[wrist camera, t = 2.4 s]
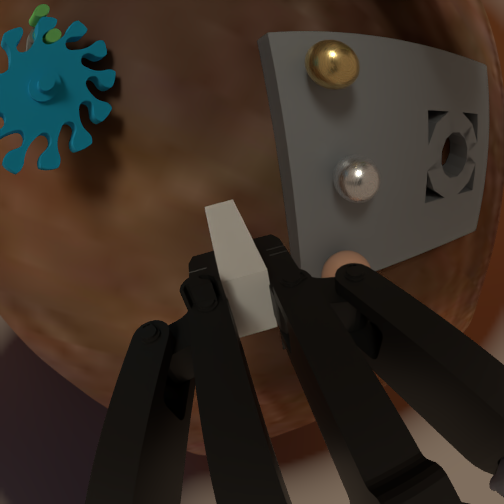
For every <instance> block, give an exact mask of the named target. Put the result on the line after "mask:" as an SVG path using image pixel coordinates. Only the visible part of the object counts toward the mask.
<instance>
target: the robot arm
mask: <svg viewBox="0 0 504 504" xmlns="http://www.w3.org/2000/svg"><path fill="white" fill-rule="evenodd" d="M205 211H206V216H207V221H208V225H209V230H210V235H211V240H212V244H213V249H214V251H211V252H208V253H204V254H201V255H197V256H193V257H192V259H191V261H190V263H189V278H188V279H186V280H185V281H184V282H183V284H182V285H181V287H180V293H181V296H182V298H183V300H184V303H185V305H186V307H187V309H188V312H187V313H186V314H185V315H184V316H183V317H182V318H181V319H179V320H178V321H176V322H174V323H172V324H170V325H167V324H166V323H165V322H163V321H159V320H154V321H149V322H147V323H145V324H143V325H141V326H140V327H139V328H138V329H137V330H136V332H135V333H134V335H133V337H132V340H131V343H130V345H129V348H128V351H127V354H126V356H125V359H124V362H123V365H122V368H121V371H120V374H119V377H118V380H117V383H116V386H115V389H114V392H113V395H112V398H111V401H110V404H109V408H108V411H107V415H106V418H105V421H104V425H103V428H102V432H101V436H100V439H99V443H98V447H97V451H96V455H95V459H94V463H93V468H92V472H91V476H90V481H89V486H88V491H87V496H86V501H85V504H180V501H181V491H182V483H183V474H184V465H185V457H186V449H187V441H188V433H189V426H190V418H191V411H192V404H193V397H194V390H195V385H196V392H197V400H198V407H199V414H200V420H201V426H202V432H203V438H204V444H205V450H206V455H207V460H208V466H209V471H210V476H211V480H212V485H213V489H214V494H215V499H216V502H217V504H292V503H291V500H290V497H289V495H288V491H287V488H286V486H285V483H284V480H283V477H282V474H281V471H280V468H279V465H278V462H277V459H276V456H275V453H274V450H273V447H272V443H271V441H270V437H269V434H268V431H267V428H266V425H265V421H264V418H263V415H262V412H261V408H260V405H259V402H258V398H257V395H256V392H255V388H254V385H253V382H252V378H251V375H250V371H249V368H248V364H247V361H246V357H245V354H244V350H243V347H242V344H241V341H240V337H244V336H248V335H251V334H254V333H258V332H261V331H265V330H268V329H271V328H275V327H277V323H278V325H279V327H280V333H281V339H282V345H283V349H286V350H287V352H288V355H289V357H290V359H291V362H292V364H293V367H294V369H295V371H296V374H297V376H298V379H299V381H300V383H301V386H302V388H303V391H304V393H305V395H306V398H307V400H308V402H309V405H310V407H311V410H312V412H313V414H314V417H315V419H316V421H317V423H318V426H319V428H320V431H321V433H322V436H323V438H324V440H325V443H326V445H327V447H328V450H329V452H330V454H331V457H332V459H333V461H334V464H335V466H336V468H337V471H338V473H339V475H340V478H341V480H342V482H343V485H344V487H345V489H346V492H347V494H348V497H349V500H350V504H468V503H463V502H461V501H460V499H459V497H458V495H457V493H456V491H455V489H454V487H453V485H452V483H451V481H450V480H449V478H448V476H447V474H446V473H445V471H444V470H443V468H442V467H441V466H439V465H438V464H437V463H436V462H433V461H431V460H428V459H426V458H425V457H424V456H423V455H422V453H421V452H420V450H419V448H418V447H417V444H416V443H415V441H414V439H413V437H412V436H411V434H410V432H409V430H408V429H407V427H406V425H405V423H404V422H403V420H402V418H401V417H400V415H399V413H398V412H397V410H396V408H395V407H394V405H393V403H392V401H391V400H390V398H389V396H388V395H387V393H386V392H385V390H384V388H383V387H382V385H381V383H380V382H379V380H378V378H377V377H376V375H375V373H377V374H378V375H379V376H380V377H381V378H382V379H383V380H384V381H385V382H386V383H387V384H388V385H389V386H390V387H391V388H392V389H393V390H394V391H395V392H397V393H398V394H399V395H400V396H401V397H402V398H403V399H404V400H405V401H406V402H407V403H408V404H409V405H410V406H411V407H412V408H413V409H414V410H415V411H416V412H418V413H419V414H420V415H421V416H422V417H423V418H424V419H425V420H426V421H427V422H428V423H429V424H430V425H431V426H432V427H433V428H434V429H435V430H436V431H437V432H438V433H440V434H441V435H442V436H443V437H444V438H445V439H446V440H447V441H448V442H449V443H450V444H451V445H452V446H453V447H454V448H455V449H457V451H459V452H460V453H461V454H462V455H463V456H464V457H465V458H466V459H467V460H468V461H470V462H471V463H472V464H473V465H475V466H476V467H478V468H480V469H481V470H483V471H485V472H488V473H490V474H493V477H492V478H491V480H490V489H491V490H493V491H497V493H499V494H500V495H501V496H503V497H504V365H503V364H502V363H501V362H499V361H498V360H497V359H496V358H494V357H493V356H492V355H491V354H489V353H488V352H487V351H486V350H484V349H483V348H482V347H481V346H479V345H478V344H477V343H475V342H474V341H473V340H471V339H470V338H469V337H467V336H466V335H464V333H462V332H461V331H460V330H458V329H457V328H456V327H454V326H453V325H452V324H450V323H449V322H447V321H446V320H445V319H443V318H442V317H441V316H439V315H438V314H436V313H435V312H434V311H432V310H431V309H429V308H428V307H427V306H425V305H424V304H422V303H421V302H420V301H418V300H417V299H415V298H414V297H412V296H411V295H410V294H408V293H407V292H405V291H404V290H402V289H401V288H399V287H398V286H396V285H395V284H393V283H392V282H390V281H389V280H387V279H386V278H385V277H383V276H382V275H380V274H378V273H377V272H375V271H374V270H372V269H371V268H369V267H368V266H365V265H363V264H359V263H348V264H345V265H343V266H341V267H340V268H338V269H337V271H336V273H335V277H327V278H315V277H312V276H311V275H310V274H309V273H308V272H307V271H305V270H302V269H299V268H298V266H297V265H296V263H295V261H294V260H293V258H292V257H291V255H290V254H289V252H288V251H287V249H286V248H285V246H284V245H283V243H282V242H281V240H280V239H279V238H277V237H275V236H273V235H271V234H270V235H267V236H263V237H259V238H256V239H252V237H251V235H250V233H249V231H248V229H247V227H246V225H245V223H244V221H243V219H242V217H241V215H240V213H239V211H238V209H237V207H236V205H235V203H234V201H233V200H229V201H225V202H222V203H218V204H214V205H210V206H207V207H205ZM276 320H277V322H276ZM373 371H374V372H375V373H374V372H373Z"/></svg>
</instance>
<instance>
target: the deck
mask: <svg viewBox="0 0 504 504" xmlns="http://www.w3.org/2000/svg"><path fill="white" fill-rule="evenodd" d="M323 40H337V41H340V42H343V43H345V44H346V45H348V46H349V47H350V48H352V50H353V51H354V52H355V53H356V55H357V57H358V59H359V63H360V72H359V75H358V77H357V79H356V80H355V82H354V83H353V84H351V85H350V86H348V87H346V88H344V89H339V90H332V89H327V88H324V87H321V86H319V85H318V84H316V83H315V82H314V81H313V80H312V79H311V78H310V77H309V75H308V73H307V71H306V68H305V56H306V54H307V52H308V50H309V49H310V48H311V46H313V45H314V44H315V43H317V42H319V41H323ZM257 42H258V47H259V52H260V57H261V62H262V67H263V73H264V78H265V83H266V89H267V94H268V100H269V106H270V112H271V118H272V124H273V130H274V136H275V142H276V149H277V155H278V162H279V168H280V175H281V182H282V189H283V197H284V204H285V212H286V219H287V227H288V235H289V244H290V252H291V257H292V258H293V260H294V261H295V263H296V265H297V266H298V268H299V269H302V270H305V271H307V272H308V273H309V274H310V275H311V276H312V277H315V278H321V273H322V269H323V266H324V264H325V262H326V261H327V260H328V259H329V257H331V256H332V255H333V254H335V253H337V252H340V251H345V250H350V251H354V252H357V253H359V254H361V255H362V256H363V257H364V258H365V259H366V260H367V261H368V263H369V265H370V267H371V269H372V270H374V271H377V270H380V269H383V268H386V267H388V266H391V265H393V264H396V263H399V262H401V261H404V260H406V259H409V258H411V257H414V256H416V255H419V254H421V253H424V252H426V251H429V250H431V249H434V248H436V247H439V246H441V245H443V244H446V243H448V242H450V241H453V240H455V239H457V238H460V237H462V236H464V235H466V234H469V233H471V232H473V231H475V230H476V227H477V222H478V217H479V212H480V207H481V202H482V196H483V190H484V183H485V175H486V166H487V155H488V141H489V92H488V77H487V67H486V65H485V64H482V63H480V62H477V61H474V60H472V59H469V58H466V57H463V56H460V55H457V54H454V53H451V52H447V51H444V50H440V49H437V48H433V47H429V46H425V45H421V44H417V43H412V42H408V41H403V40H397V39H392V38H386V37H379V36H372V35H363V34H353V33H341V32H318V31H294V32H272V33H267V34H265V35H264V36H263V37H261V38H260V39H259V40H257ZM448 137H449V140H450V153H449V156H448V158H447V161H446V163H445V164H444V165H443V166H442V164H441V160H442V149H443V146H444V144H445V141H446V139H447V138H448ZM349 155H362V156H365V157H367V158H369V159H370V160H371V161H373V162H374V164H375V165H376V166H377V168H378V170H379V173H380V178H381V183H380V187H379V190H378V192H377V193H376V195H375V196H374V197H373V198H372V199H370V200H368V201H366V202H363V203H353V202H350V201H347V200H346V199H344V198H343V197H342V196H341V195H340V194H339V193H338V192H337V190H336V188H335V186H334V182H333V173H334V169H335V167H336V165H337V164H338V163H339V161H340V160H342V159H343V158H345V157H346V156H349ZM426 187H427V188H428V189H426Z"/></svg>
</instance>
